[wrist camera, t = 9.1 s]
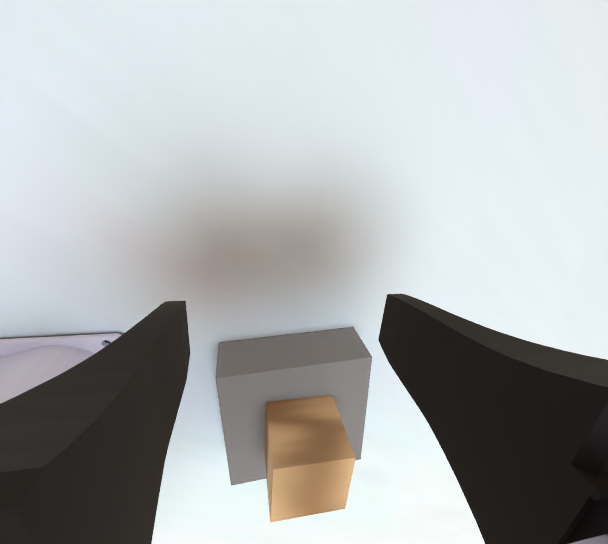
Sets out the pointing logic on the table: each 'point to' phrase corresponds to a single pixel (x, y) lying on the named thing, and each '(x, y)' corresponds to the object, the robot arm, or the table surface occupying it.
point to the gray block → (287, 388)
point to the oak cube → (306, 457)
